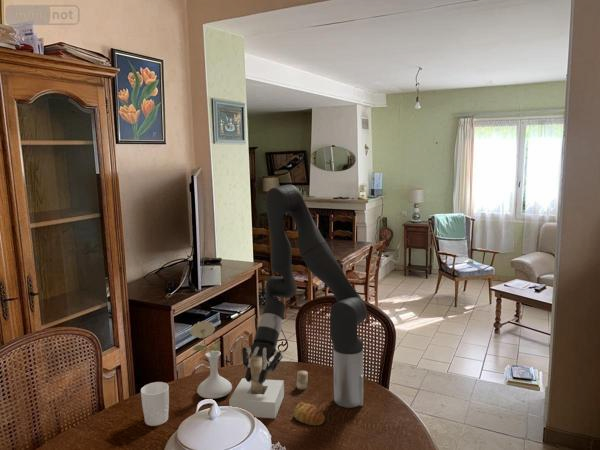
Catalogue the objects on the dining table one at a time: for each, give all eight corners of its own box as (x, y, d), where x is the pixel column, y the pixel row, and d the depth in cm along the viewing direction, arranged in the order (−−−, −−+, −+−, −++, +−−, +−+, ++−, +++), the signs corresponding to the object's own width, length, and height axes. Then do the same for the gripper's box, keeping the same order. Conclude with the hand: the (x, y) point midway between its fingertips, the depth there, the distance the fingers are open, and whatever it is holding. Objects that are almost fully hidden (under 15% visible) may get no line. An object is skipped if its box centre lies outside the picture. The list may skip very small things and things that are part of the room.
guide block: (284, 395, 148) (283, 380, 148) (275, 418, 135) (274, 402, 134) (242, 392, 151) (242, 378, 150) (229, 415, 137) (229, 399, 136)
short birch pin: (305, 383, 156) (305, 370, 155) (308, 388, 152) (309, 374, 152) (295, 385, 155) (295, 371, 154) (298, 390, 151) (299, 376, 150)
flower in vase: (235, 385, 156) (232, 314, 152) (228, 402, 144) (225, 326, 141) (197, 385, 156) (193, 315, 153) (188, 402, 145) (184, 327, 142)
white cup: (145, 430, 130) (142, 397, 129) (140, 417, 137) (138, 385, 136) (173, 422, 133) (171, 390, 132) (167, 410, 140) (165, 379, 139)
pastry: (329, 419, 134) (329, 407, 133) (316, 430, 129) (316, 418, 128) (304, 409, 140) (304, 398, 139) (290, 419, 134) (290, 407, 134)
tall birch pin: (264, 394, 144) (263, 355, 142) (261, 400, 140) (260, 360, 139) (253, 393, 144) (252, 354, 143) (250, 399, 141) (249, 359, 139)
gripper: (245, 323, 149) (229, 374, 139) (285, 327, 144) (272, 381, 135) (252, 333, 155) (237, 383, 145) (291, 337, 150) (278, 389, 140)
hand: (254, 381), depth 140 cm, fingers closed on tall birch pin, 3 cm apart
